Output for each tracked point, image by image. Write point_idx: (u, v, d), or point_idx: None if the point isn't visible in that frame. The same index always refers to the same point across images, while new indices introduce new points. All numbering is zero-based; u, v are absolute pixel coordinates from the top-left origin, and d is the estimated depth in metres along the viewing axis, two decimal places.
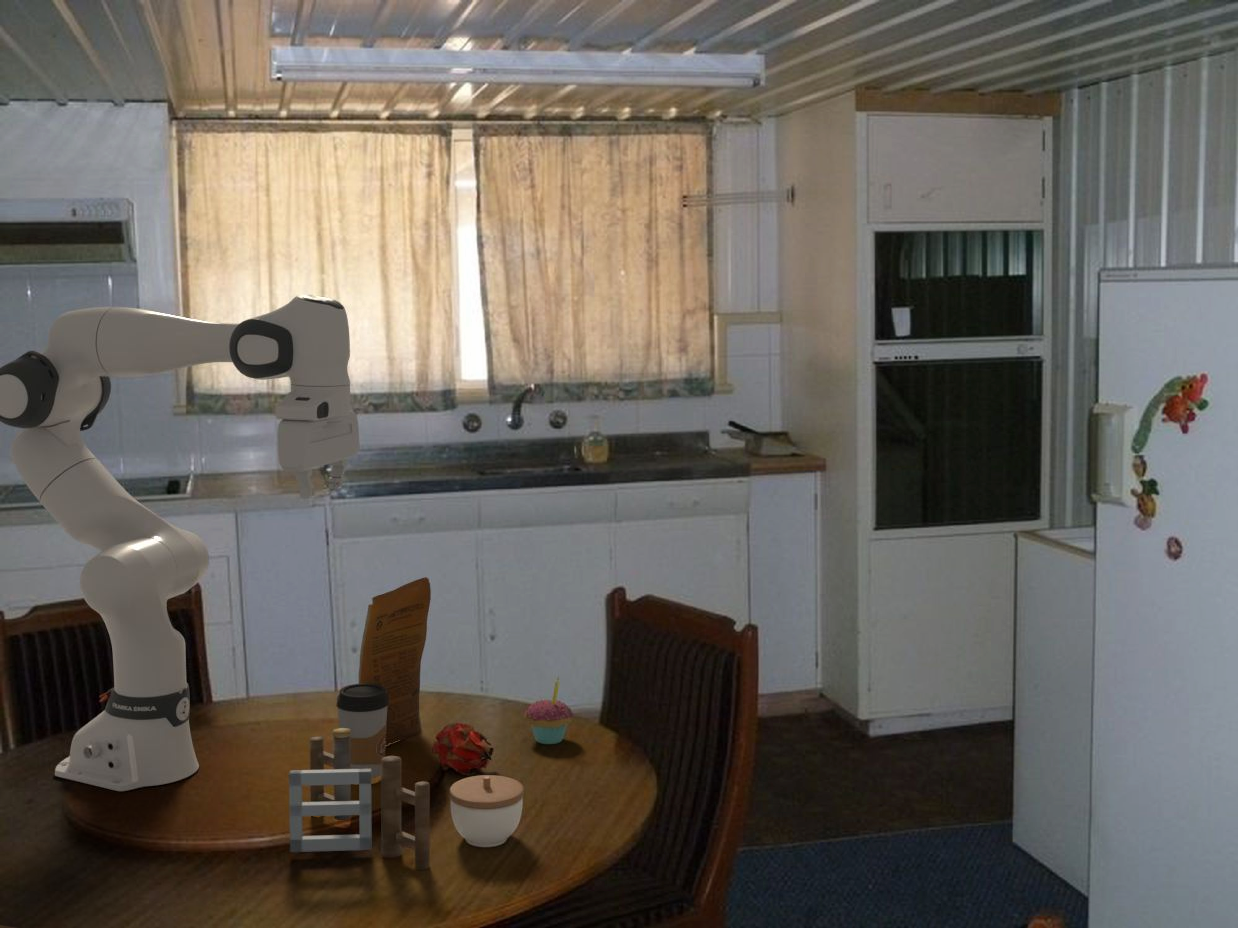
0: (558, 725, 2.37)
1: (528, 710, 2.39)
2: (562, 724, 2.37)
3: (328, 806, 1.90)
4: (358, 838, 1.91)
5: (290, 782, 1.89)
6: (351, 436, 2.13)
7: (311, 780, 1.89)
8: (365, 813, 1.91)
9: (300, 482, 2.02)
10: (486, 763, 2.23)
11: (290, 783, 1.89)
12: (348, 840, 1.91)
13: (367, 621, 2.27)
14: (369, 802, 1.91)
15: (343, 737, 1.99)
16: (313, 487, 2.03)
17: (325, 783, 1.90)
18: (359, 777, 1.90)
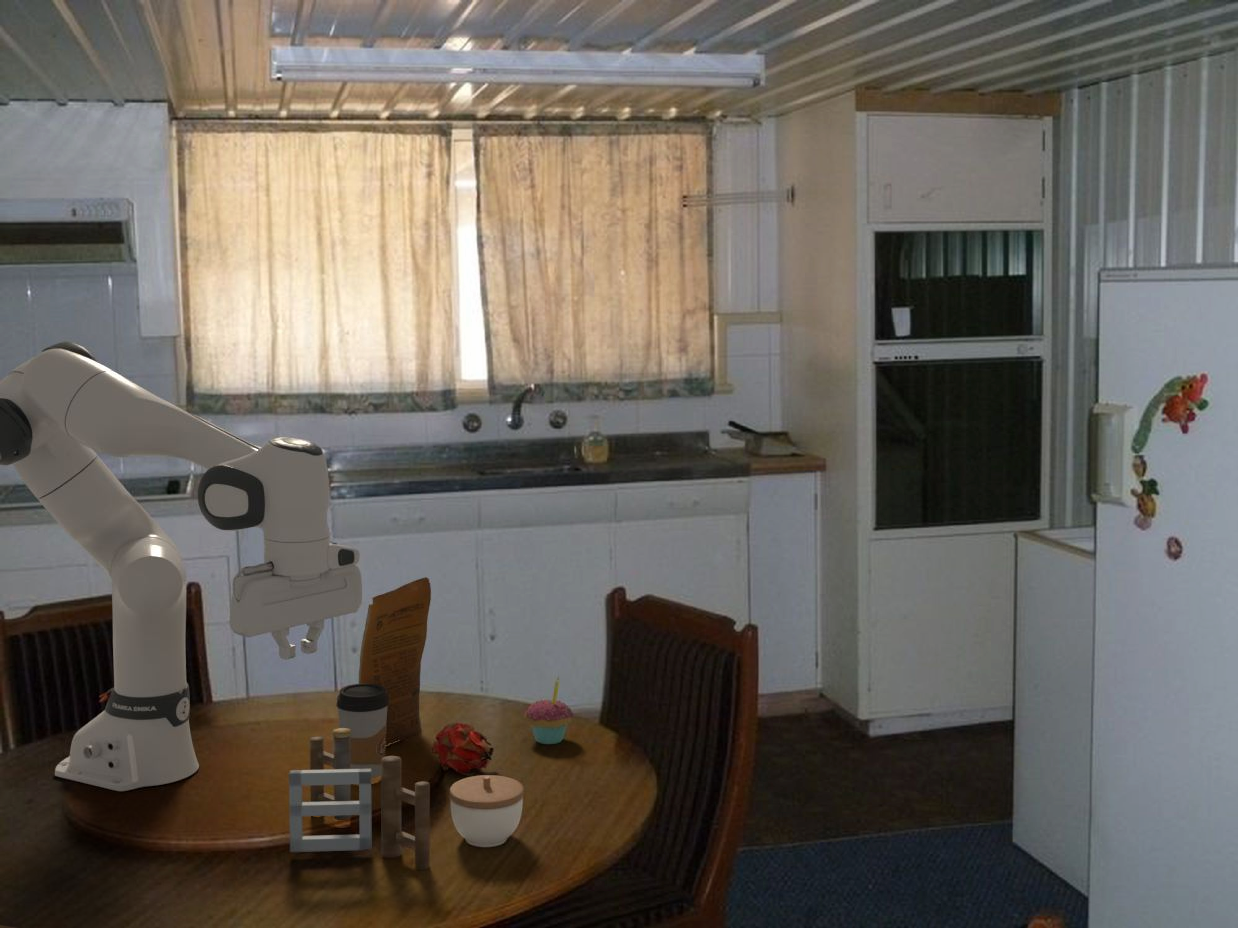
0: (558, 725, 2.37)
1: (528, 710, 2.39)
2: (562, 724, 2.37)
3: (328, 806, 1.90)
4: (358, 838, 1.91)
5: (290, 782, 1.89)
6: None
7: (311, 780, 1.89)
8: (365, 813, 1.91)
9: None
10: (486, 763, 2.23)
11: (290, 783, 1.89)
12: (348, 840, 1.91)
13: (367, 621, 2.27)
14: (369, 802, 1.91)
15: (343, 737, 1.99)
16: None
17: (325, 783, 1.90)
18: (359, 777, 1.90)
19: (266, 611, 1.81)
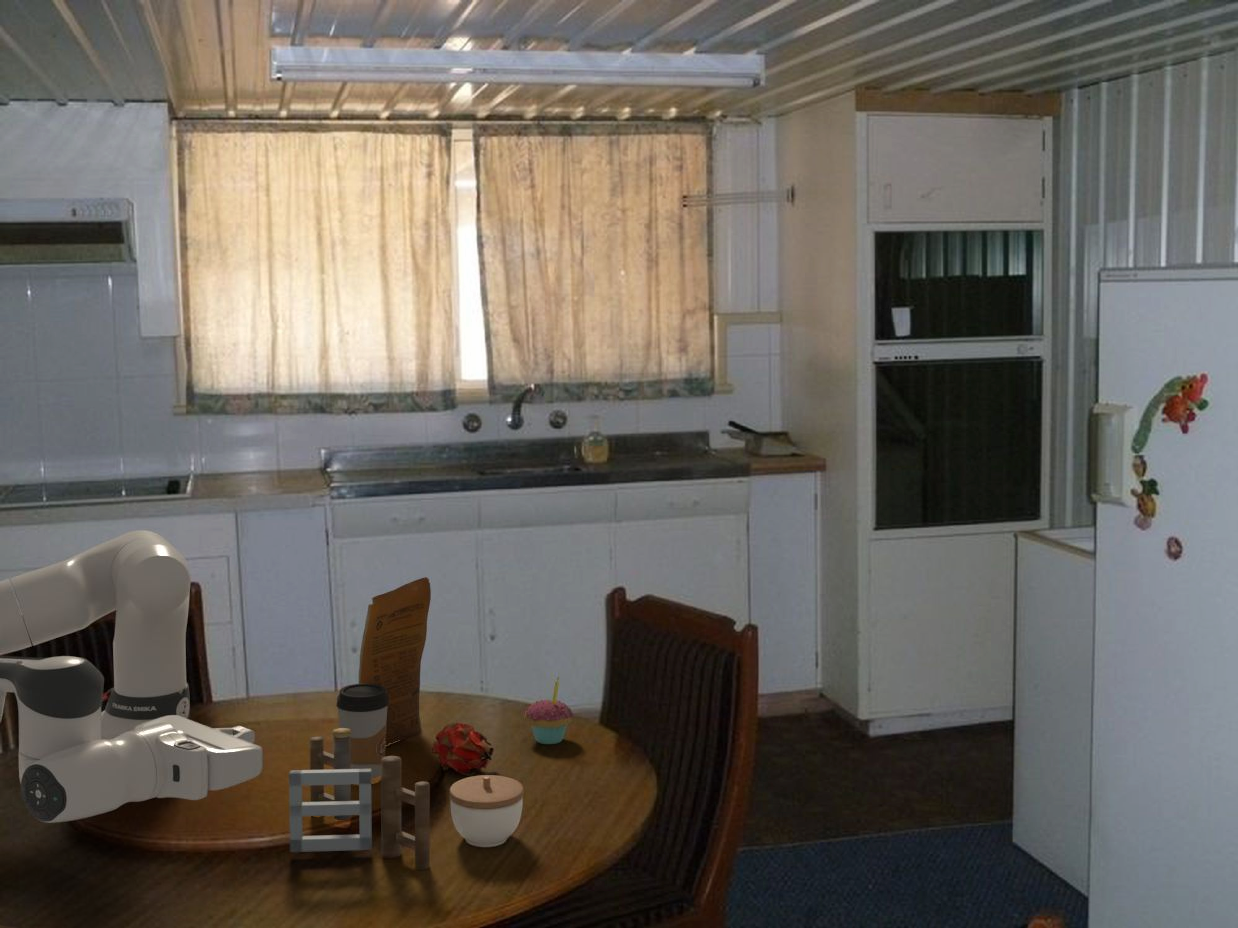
0: (558, 725, 2.37)
1: (528, 710, 2.39)
2: (562, 724, 2.37)
3: (328, 806, 1.90)
4: (358, 838, 1.91)
5: (290, 782, 1.89)
6: (165, 723, 1.81)
7: (311, 780, 1.89)
8: (365, 813, 1.91)
9: None
10: (486, 763, 2.23)
11: (290, 783, 1.89)
12: (348, 840, 1.91)
13: (367, 621, 2.27)
14: (369, 802, 1.91)
15: (343, 737, 1.99)
16: (240, 730, 1.81)
17: (325, 783, 1.90)
18: (359, 777, 1.90)
19: None
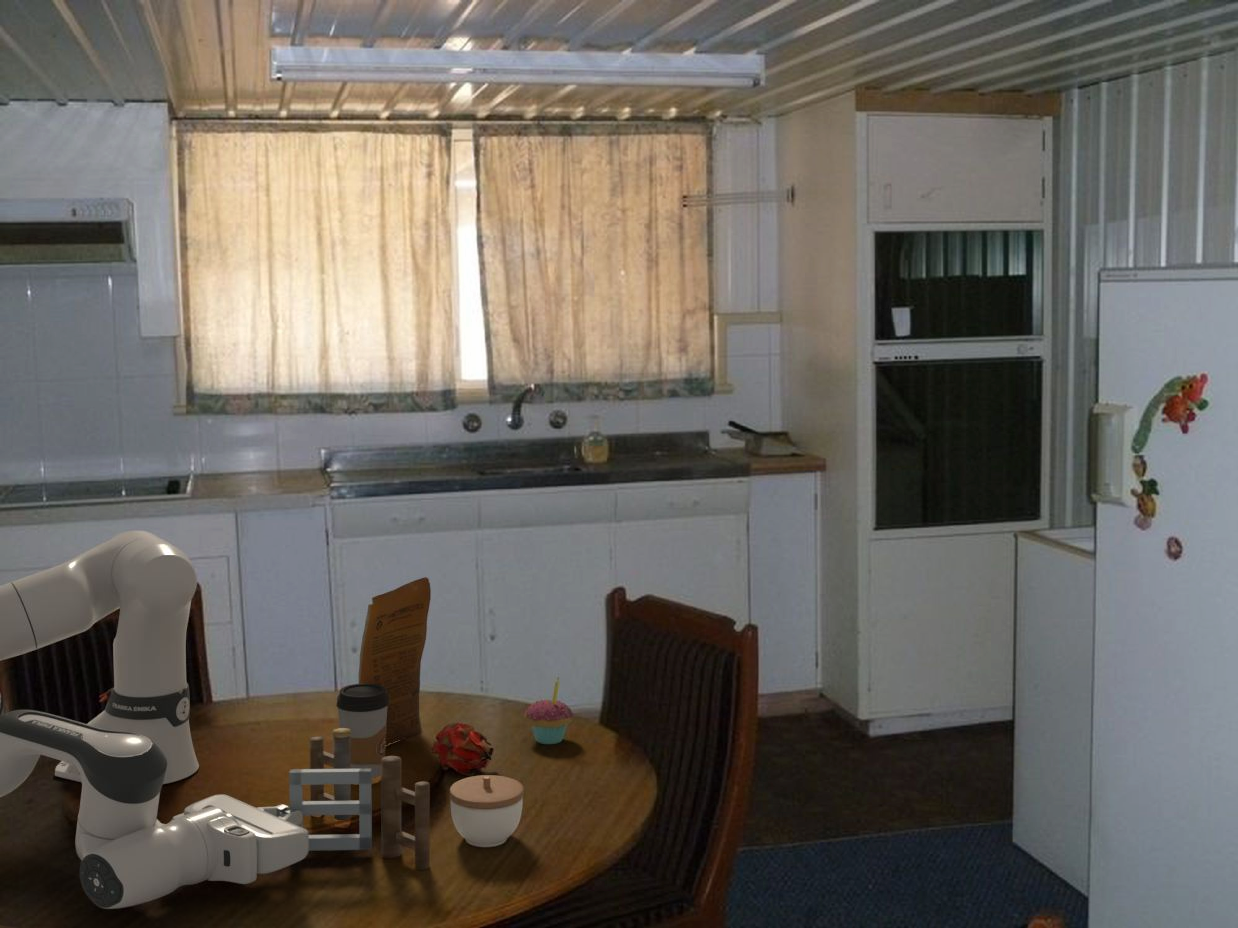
0: (558, 725, 2.37)
1: (528, 710, 2.39)
2: (562, 724, 2.37)
3: (328, 805, 1.90)
4: (357, 837, 1.91)
5: (290, 781, 1.89)
6: (214, 803, 1.87)
7: (311, 779, 1.90)
8: (365, 813, 1.91)
9: None
10: (486, 763, 2.23)
11: (290, 782, 1.89)
12: (348, 840, 1.91)
13: (367, 621, 2.27)
14: (369, 802, 1.91)
15: (343, 737, 1.99)
16: (288, 811, 1.88)
17: (325, 782, 1.90)
18: (359, 777, 1.90)
19: None
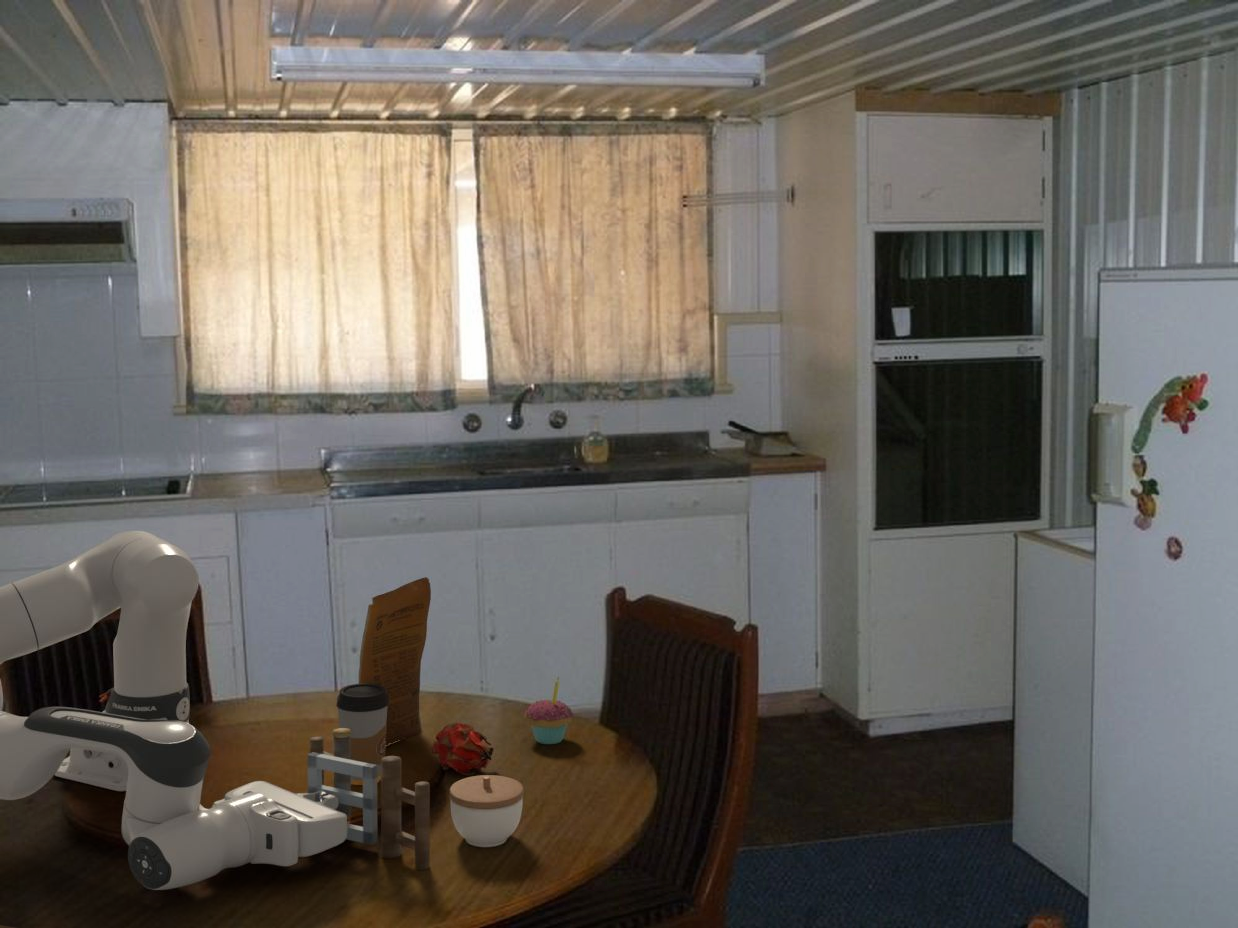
0: (558, 725, 2.37)
1: (528, 710, 2.39)
2: (562, 724, 2.37)
3: (338, 793, 1.95)
4: (361, 830, 1.94)
5: (308, 763, 1.96)
6: (254, 789, 1.93)
7: (324, 765, 1.95)
8: (367, 808, 1.93)
9: None
10: (486, 763, 2.23)
11: (308, 764, 1.96)
12: (354, 831, 1.94)
13: (367, 621, 2.27)
14: (371, 798, 1.92)
15: (343, 737, 1.99)
16: (324, 797, 1.93)
17: (335, 770, 1.95)
18: (362, 771, 1.92)
19: None
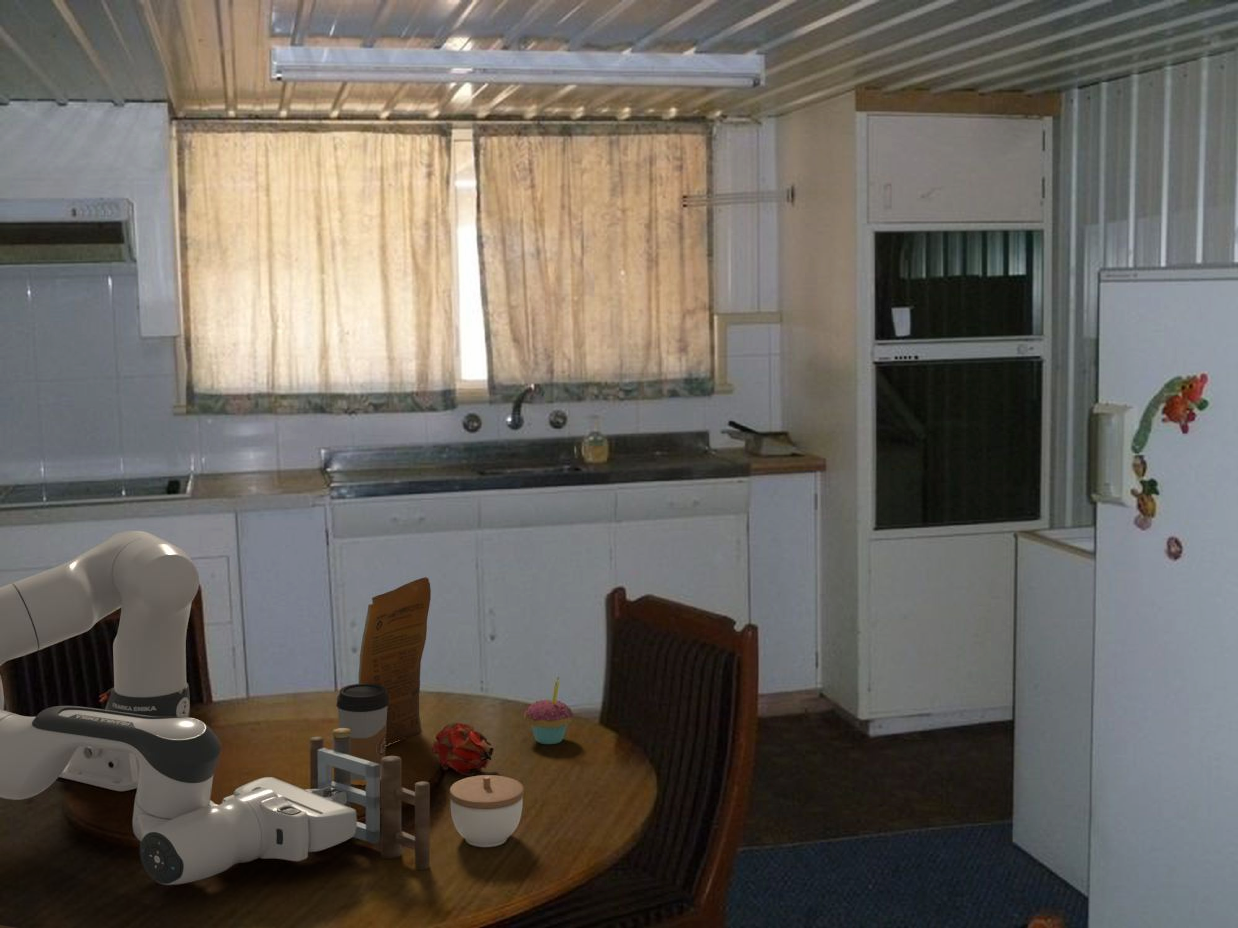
0: (558, 725, 2.37)
1: (528, 710, 2.39)
2: (562, 724, 2.37)
3: (344, 790, 1.96)
4: (364, 828, 1.95)
5: (318, 758, 1.98)
6: (263, 785, 1.94)
7: (332, 761, 1.97)
8: (369, 806, 1.93)
9: None
10: (486, 763, 2.23)
11: (318, 759, 1.98)
12: (357, 828, 1.95)
13: (367, 621, 2.27)
14: (372, 796, 1.93)
15: (343, 737, 1.99)
16: (333, 792, 1.95)
17: (342, 767, 1.96)
18: (365, 769, 1.93)
19: None
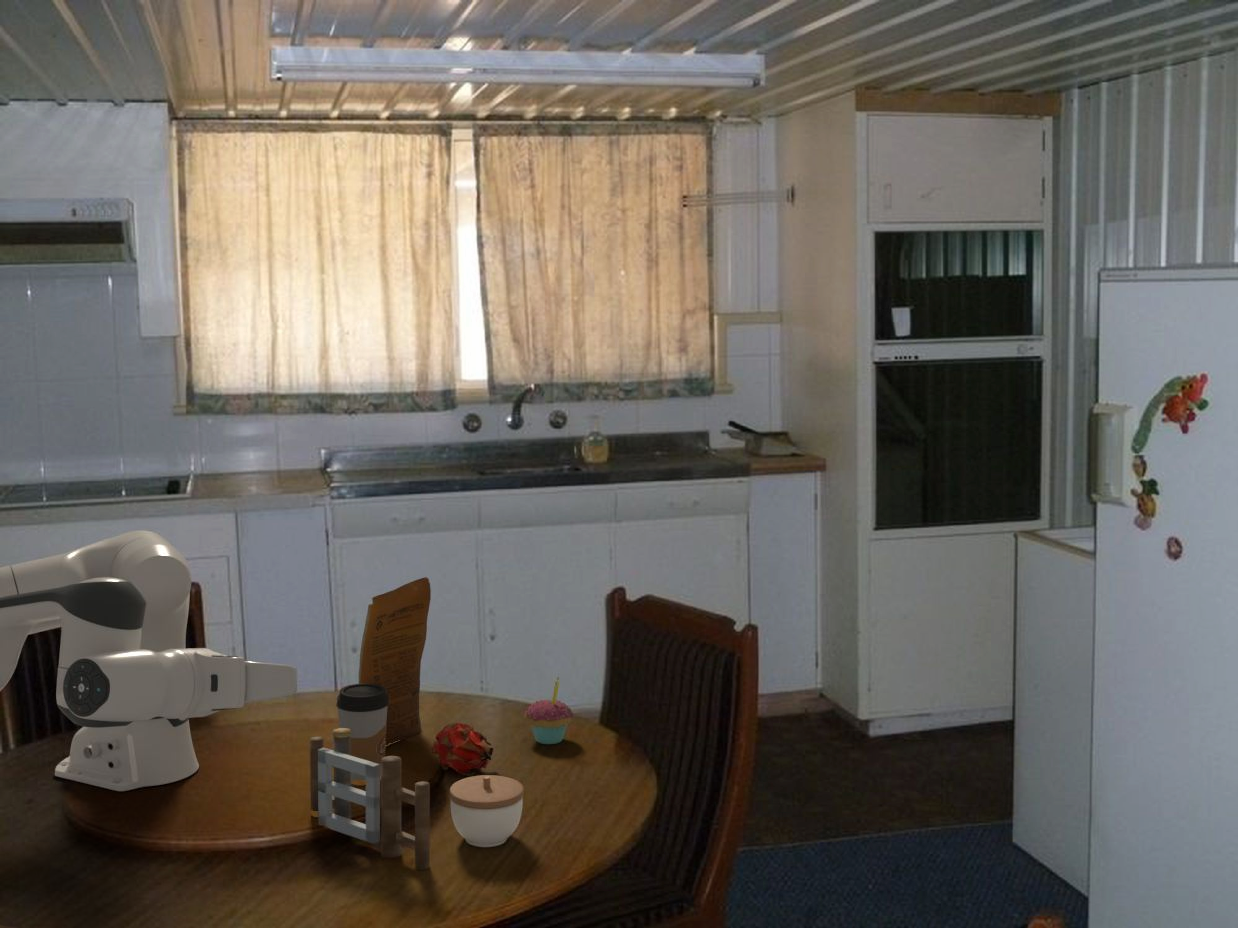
0: (558, 725, 2.37)
1: (528, 710, 2.39)
2: (562, 724, 2.37)
3: (344, 790, 1.96)
4: (364, 828, 1.95)
5: (318, 758, 1.98)
6: None
7: (332, 761, 1.97)
8: (369, 806, 1.93)
9: None
10: (486, 763, 2.23)
11: (318, 759, 1.98)
12: (358, 828, 1.95)
13: (367, 621, 2.27)
14: (372, 796, 1.93)
15: (343, 737, 1.99)
16: None
17: (342, 767, 1.96)
18: (365, 769, 1.93)
19: None
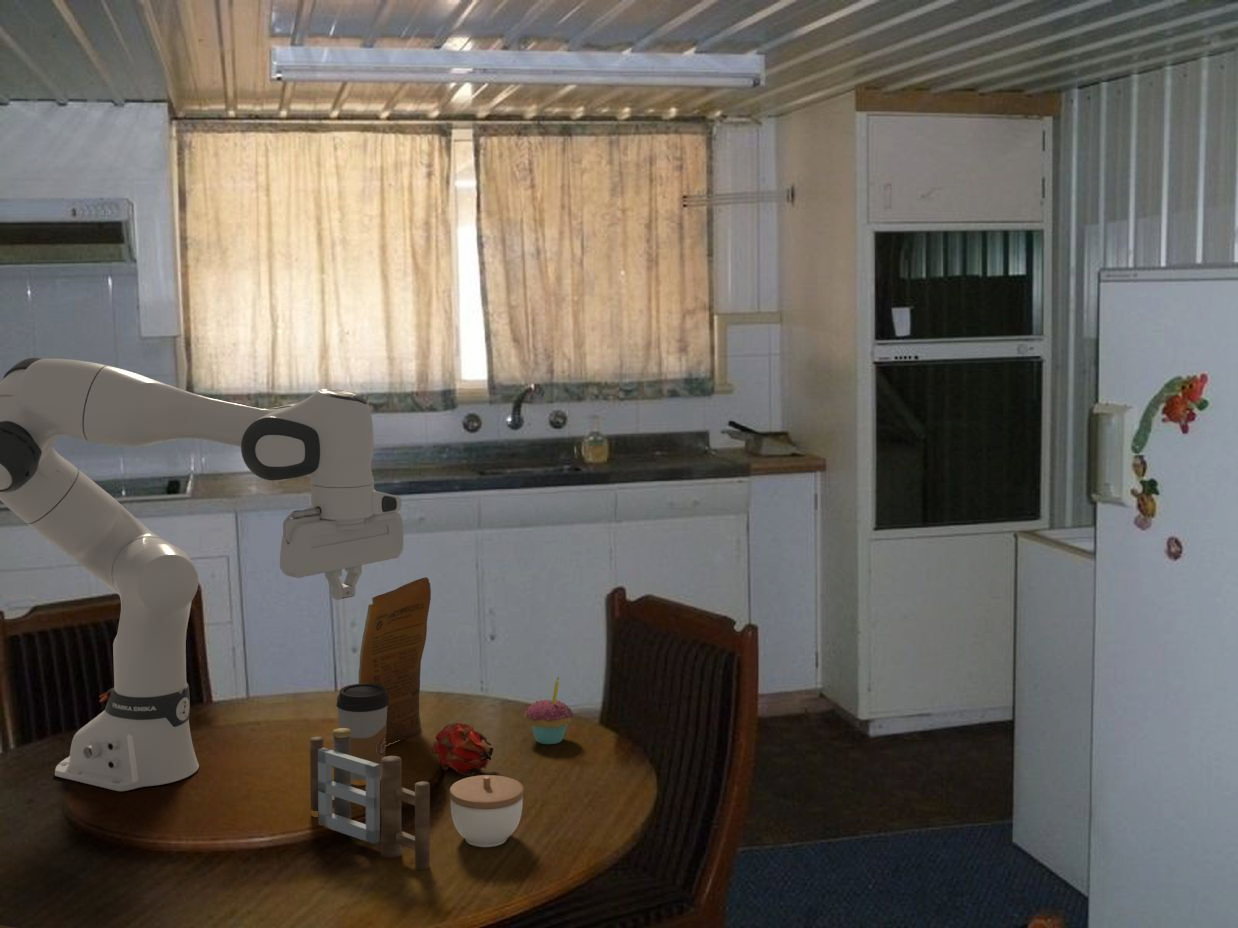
0: (558, 725, 2.37)
1: (528, 710, 2.39)
2: (562, 724, 2.37)
3: (344, 790, 1.96)
4: (364, 828, 1.95)
5: (318, 758, 1.98)
6: None
7: (332, 761, 1.97)
8: (369, 806, 1.93)
9: None
10: (486, 763, 2.23)
11: (318, 759, 1.98)
12: (358, 828, 1.95)
13: (367, 621, 2.27)
14: (372, 796, 1.93)
15: (343, 737, 1.99)
16: (341, 585, 1.97)
17: (342, 767, 1.96)
18: (365, 769, 1.93)
19: (314, 553, 1.89)
